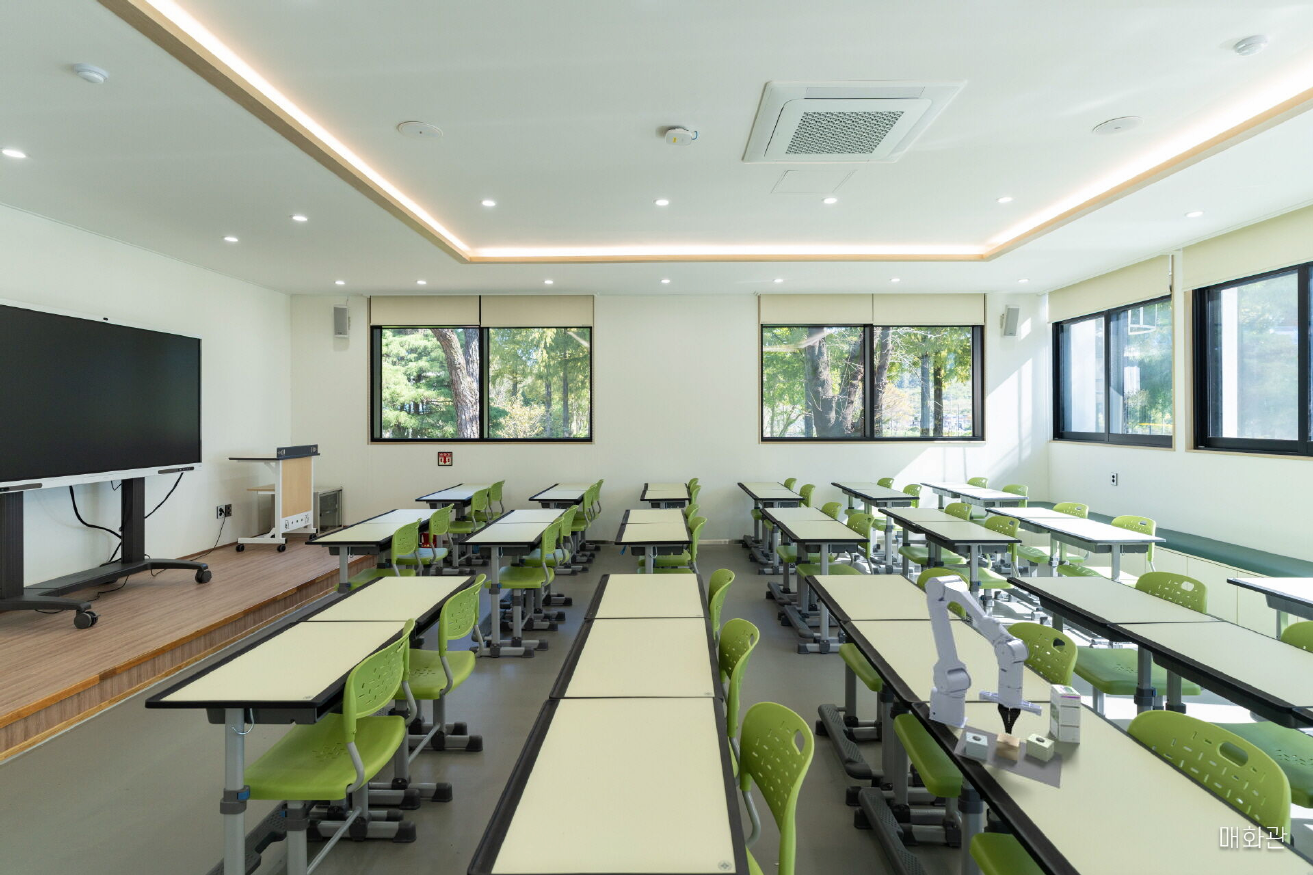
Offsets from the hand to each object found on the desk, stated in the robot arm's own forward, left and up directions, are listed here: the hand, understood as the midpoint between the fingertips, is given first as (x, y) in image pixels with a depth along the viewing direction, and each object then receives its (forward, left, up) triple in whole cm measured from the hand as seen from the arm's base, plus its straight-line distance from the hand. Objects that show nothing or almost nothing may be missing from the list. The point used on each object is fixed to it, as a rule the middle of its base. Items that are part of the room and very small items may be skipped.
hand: (1008, 731), depth 157 cm
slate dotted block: (-7, -5, -6) cm, 10 cm away
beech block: (0, 0, -6) cm, 6 cm away
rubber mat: (0, 0, -6) cm, 6 cm away
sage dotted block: (+7, +5, -6) cm, 11 cm away
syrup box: (+12, +20, -7) cm, 24 cm away
